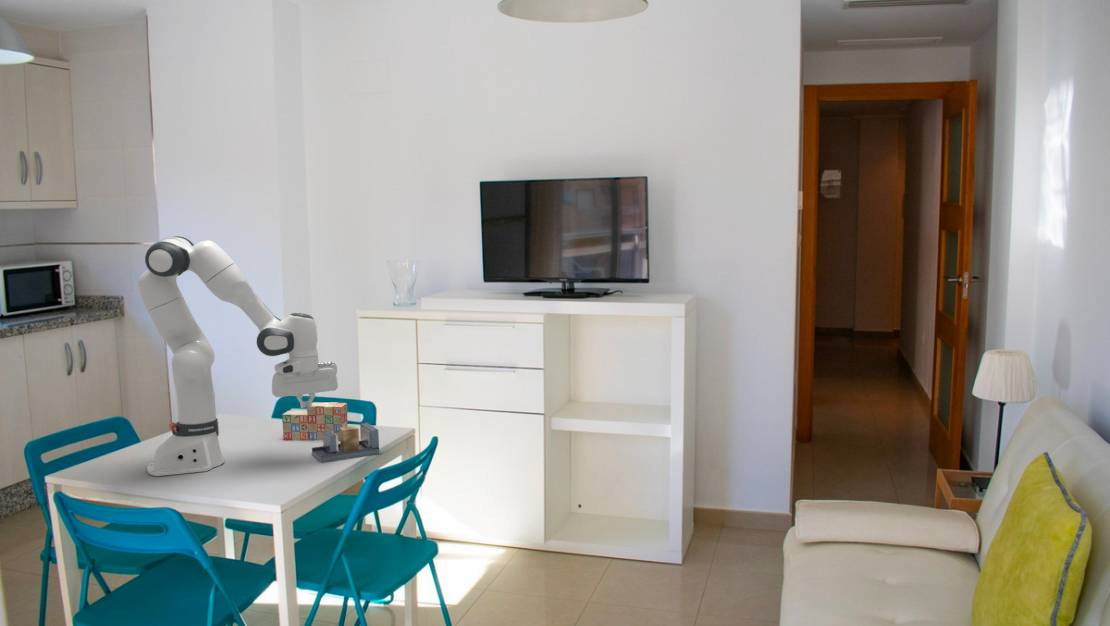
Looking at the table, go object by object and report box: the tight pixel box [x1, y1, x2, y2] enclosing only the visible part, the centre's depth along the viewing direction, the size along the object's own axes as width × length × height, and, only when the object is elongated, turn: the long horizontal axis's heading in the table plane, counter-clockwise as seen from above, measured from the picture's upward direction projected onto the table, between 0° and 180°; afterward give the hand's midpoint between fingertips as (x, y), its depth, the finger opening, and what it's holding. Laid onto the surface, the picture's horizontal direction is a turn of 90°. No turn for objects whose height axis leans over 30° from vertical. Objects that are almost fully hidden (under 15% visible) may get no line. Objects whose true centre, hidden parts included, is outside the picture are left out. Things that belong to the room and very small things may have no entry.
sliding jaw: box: [322, 430, 339, 453], centre depth 293 cm, size 2×8×6 cm, turn 30°
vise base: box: [311, 422, 380, 463], centre depth 296 cm, size 19×11×8 cm, turn 120°
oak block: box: [339, 425, 360, 451], centre depth 296 cm, size 5×4×7 cm
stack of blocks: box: [281, 401, 349, 442], centre depth 317 cm, size 21×6×12 cm, turn 84°
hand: (306, 407), depth 288 cm, fingers closed
